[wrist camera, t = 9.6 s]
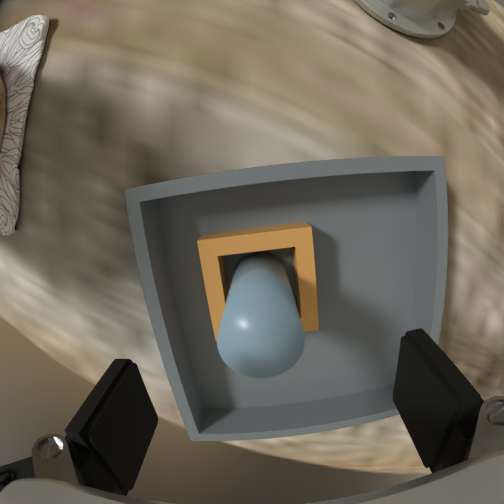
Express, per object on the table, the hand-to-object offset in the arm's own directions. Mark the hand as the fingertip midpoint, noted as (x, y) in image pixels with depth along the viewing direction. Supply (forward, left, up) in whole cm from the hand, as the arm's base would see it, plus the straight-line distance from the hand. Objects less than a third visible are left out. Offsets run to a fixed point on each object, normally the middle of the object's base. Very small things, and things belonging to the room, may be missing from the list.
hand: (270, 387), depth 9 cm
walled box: (-3, +4, -15) cm, 15 cm away
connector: (0, 0, -14) cm, 14 cm away
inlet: (0, +1, -15) cm, 15 cm away
